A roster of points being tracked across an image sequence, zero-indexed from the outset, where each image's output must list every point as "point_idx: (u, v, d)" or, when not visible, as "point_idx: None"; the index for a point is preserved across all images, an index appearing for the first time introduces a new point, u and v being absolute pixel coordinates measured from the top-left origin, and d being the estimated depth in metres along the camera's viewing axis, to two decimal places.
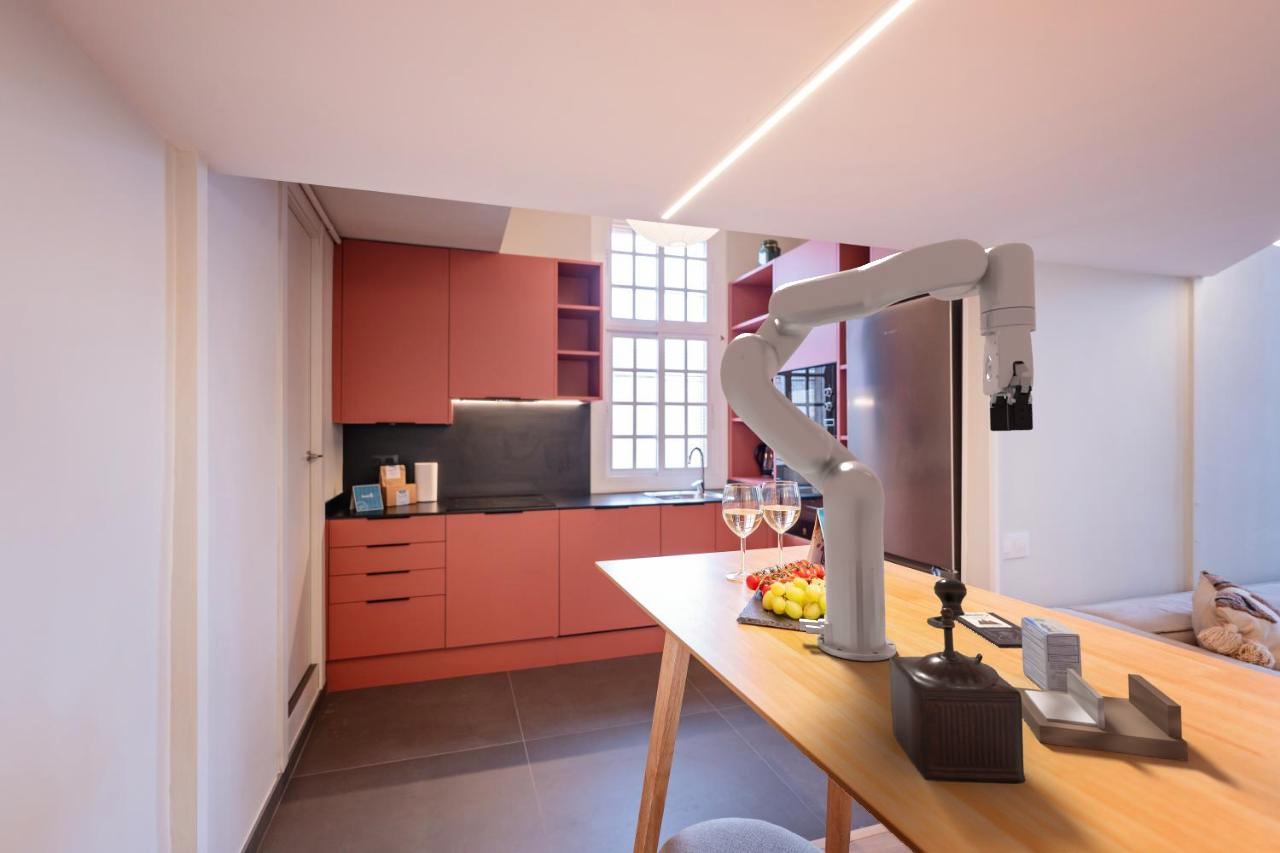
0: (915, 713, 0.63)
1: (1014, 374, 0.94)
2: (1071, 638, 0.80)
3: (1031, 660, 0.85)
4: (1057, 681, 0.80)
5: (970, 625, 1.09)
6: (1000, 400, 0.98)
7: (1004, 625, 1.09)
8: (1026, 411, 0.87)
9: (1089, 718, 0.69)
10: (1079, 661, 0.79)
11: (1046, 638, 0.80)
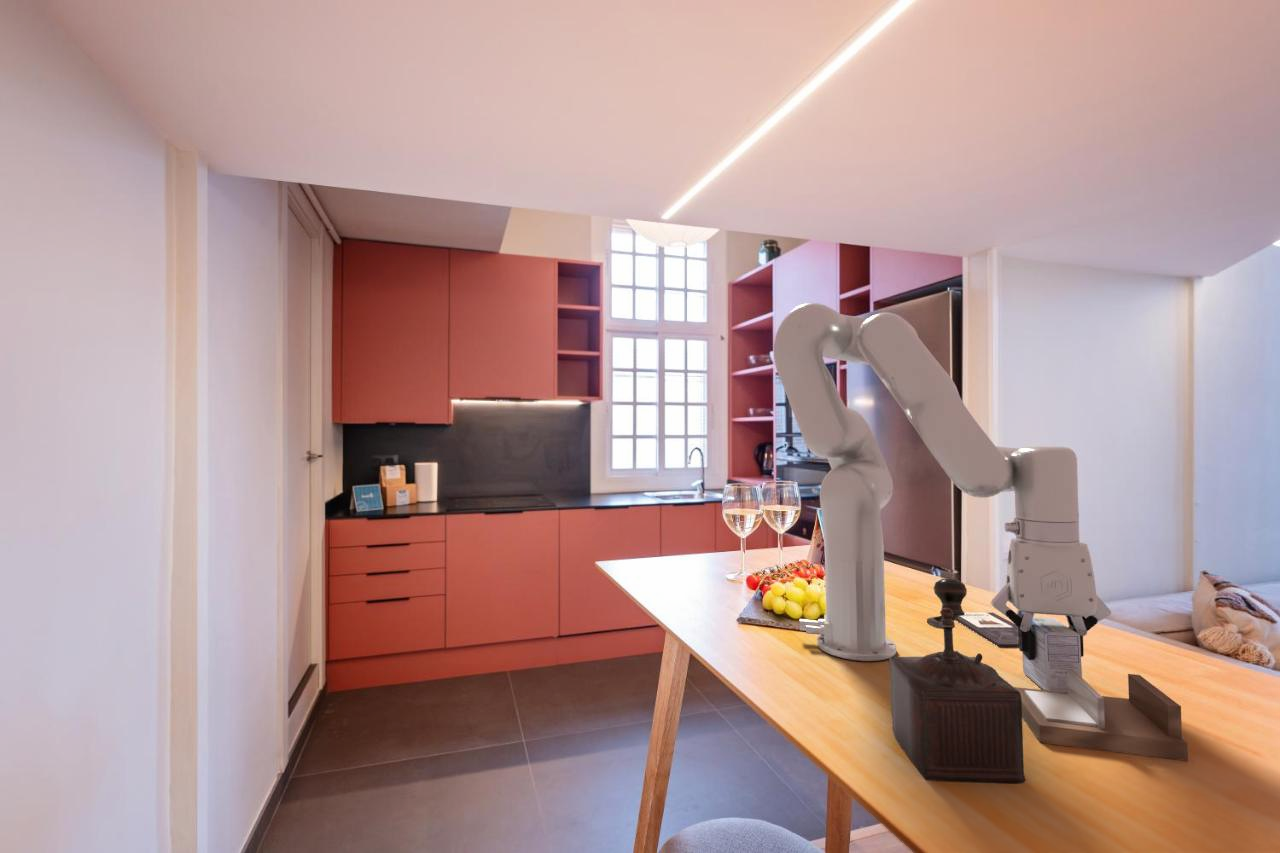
0: (915, 713, 0.63)
1: None
2: (1071, 637, 0.80)
3: None
4: (1057, 681, 0.80)
5: (970, 625, 1.09)
6: None
7: (1005, 625, 1.09)
8: None
9: (1089, 718, 0.69)
10: (1079, 661, 0.79)
11: (1046, 638, 0.80)
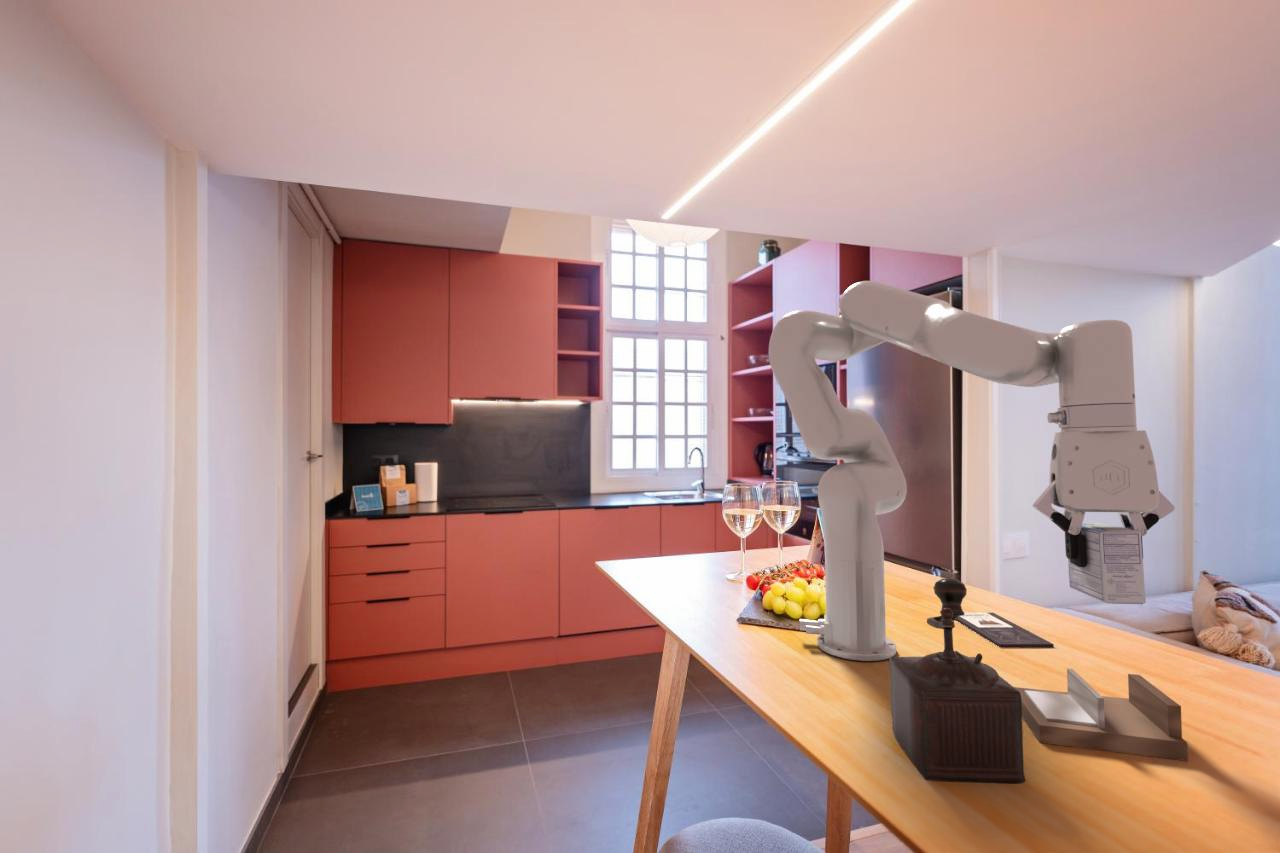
0: (914, 713, 0.63)
1: None
2: (1131, 535, 0.69)
3: (1080, 568, 0.74)
4: (1115, 586, 0.69)
5: (971, 625, 1.09)
6: None
7: (1005, 625, 1.08)
8: None
9: (1089, 718, 0.69)
10: (1141, 562, 0.68)
11: (1101, 537, 0.69)
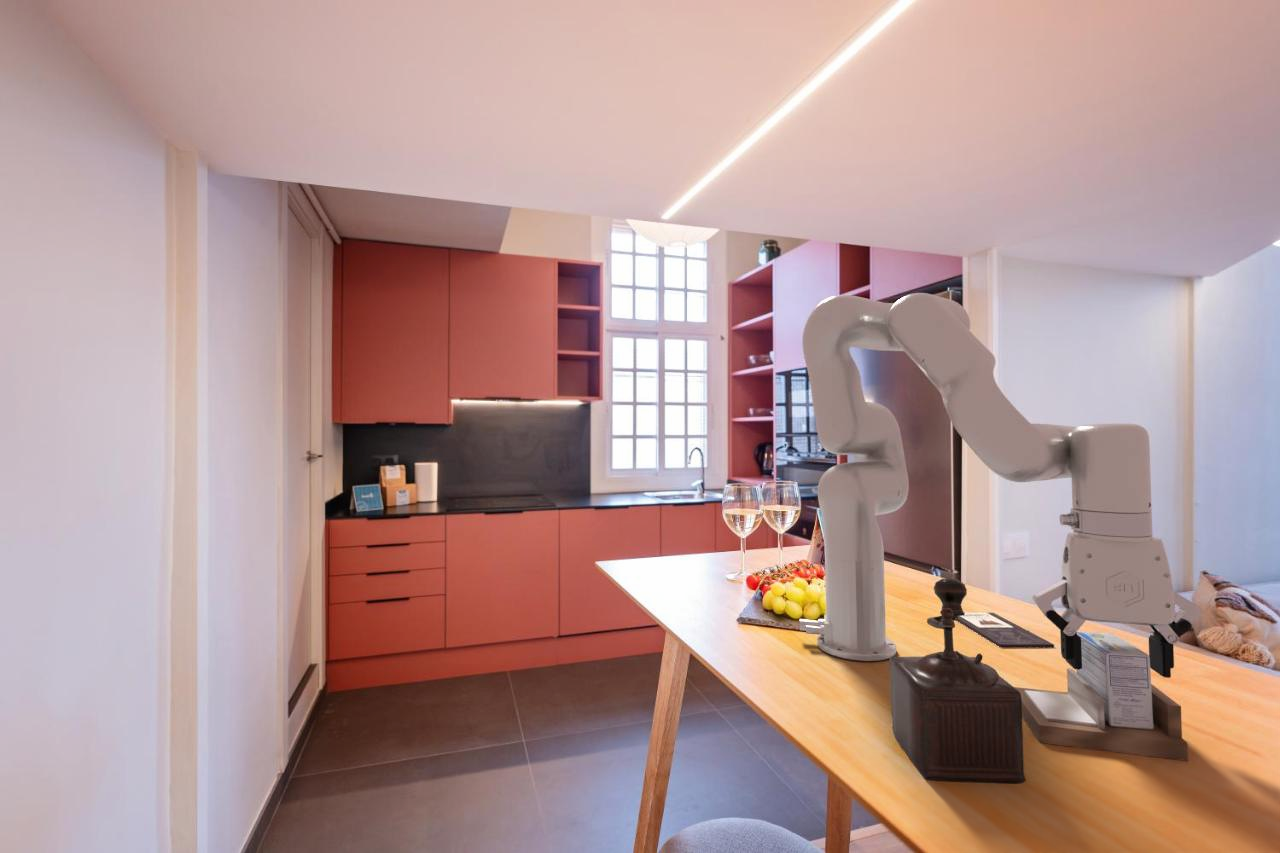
0: (915, 713, 0.63)
1: None
2: (1139, 658, 0.67)
3: (1087, 682, 0.72)
4: (1121, 710, 0.67)
5: (971, 625, 1.08)
6: None
7: (1005, 625, 1.08)
8: None
9: (1089, 718, 0.69)
10: (1149, 686, 0.66)
11: (1107, 658, 0.68)
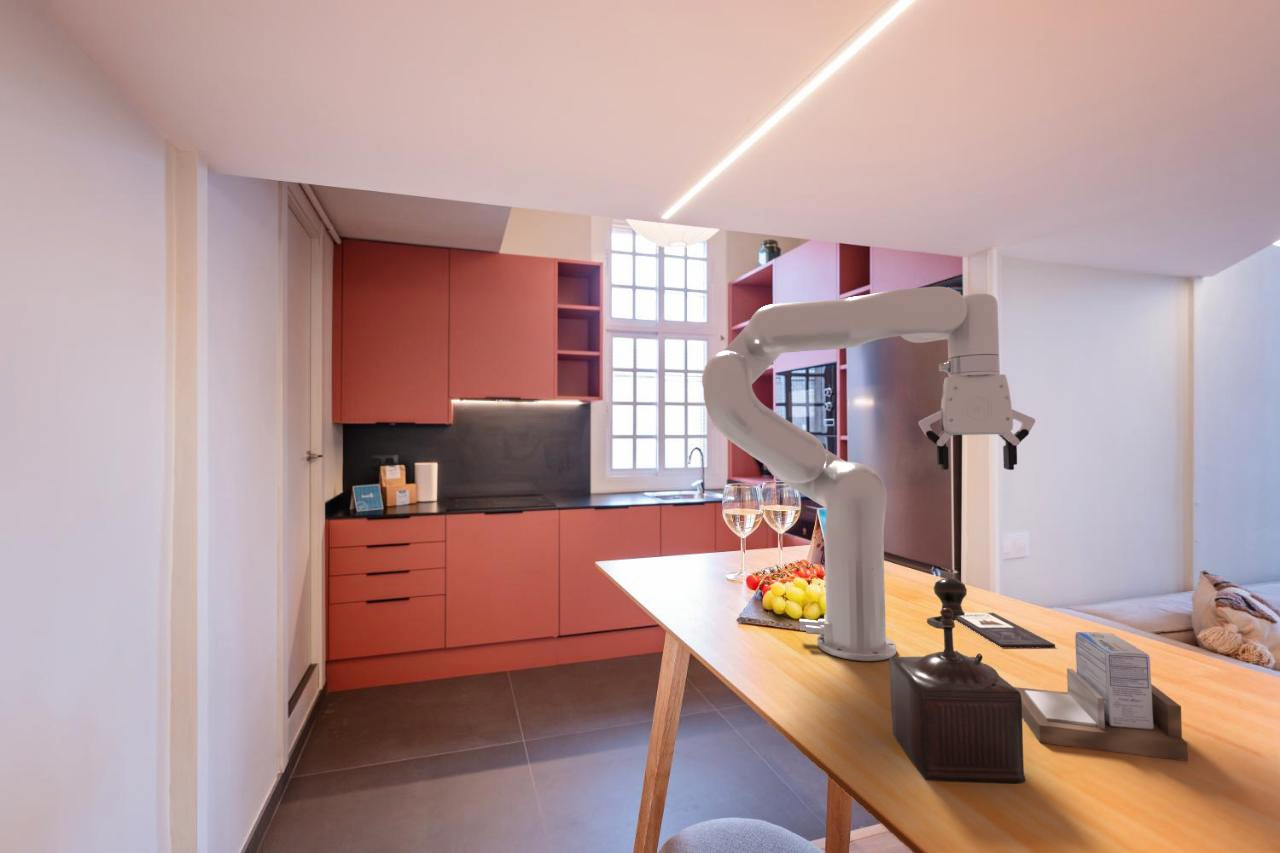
0: (915, 713, 0.63)
1: None
2: (1139, 658, 0.67)
3: (1087, 682, 0.72)
4: (1121, 710, 0.67)
5: (972, 625, 1.08)
6: None
7: (1006, 625, 1.08)
8: None
9: (1089, 718, 0.69)
10: (1149, 686, 0.66)
11: (1107, 658, 0.67)
